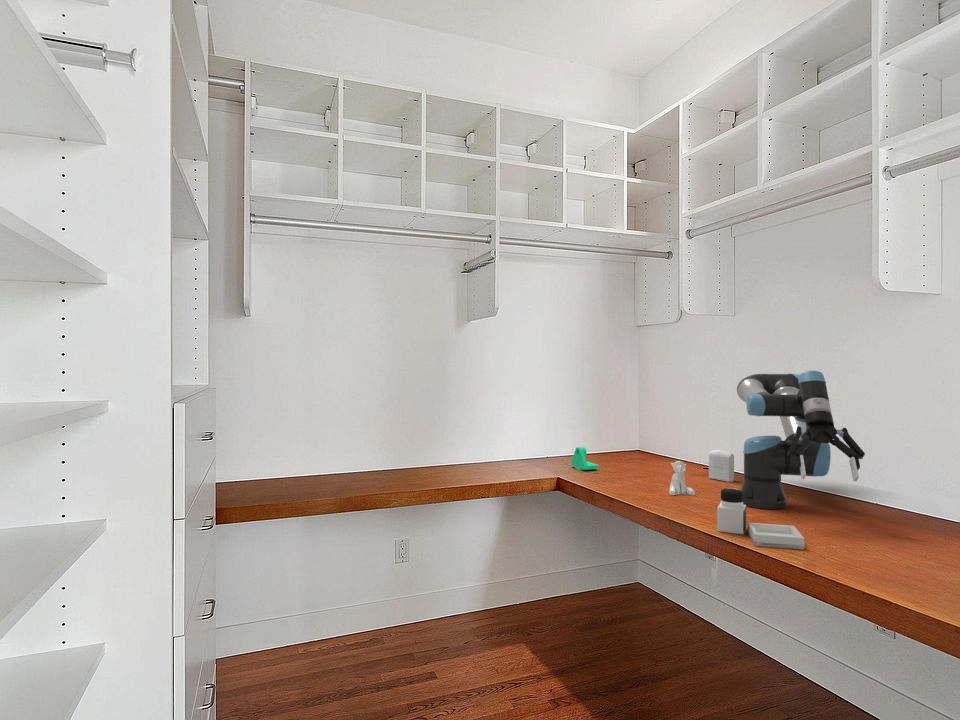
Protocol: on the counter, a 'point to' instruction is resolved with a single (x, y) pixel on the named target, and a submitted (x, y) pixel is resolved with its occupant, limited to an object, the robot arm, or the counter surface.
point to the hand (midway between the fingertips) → (829, 478)
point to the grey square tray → (775, 536)
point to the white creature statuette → (679, 481)
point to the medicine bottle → (731, 512)
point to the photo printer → (721, 465)
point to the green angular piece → (582, 460)
